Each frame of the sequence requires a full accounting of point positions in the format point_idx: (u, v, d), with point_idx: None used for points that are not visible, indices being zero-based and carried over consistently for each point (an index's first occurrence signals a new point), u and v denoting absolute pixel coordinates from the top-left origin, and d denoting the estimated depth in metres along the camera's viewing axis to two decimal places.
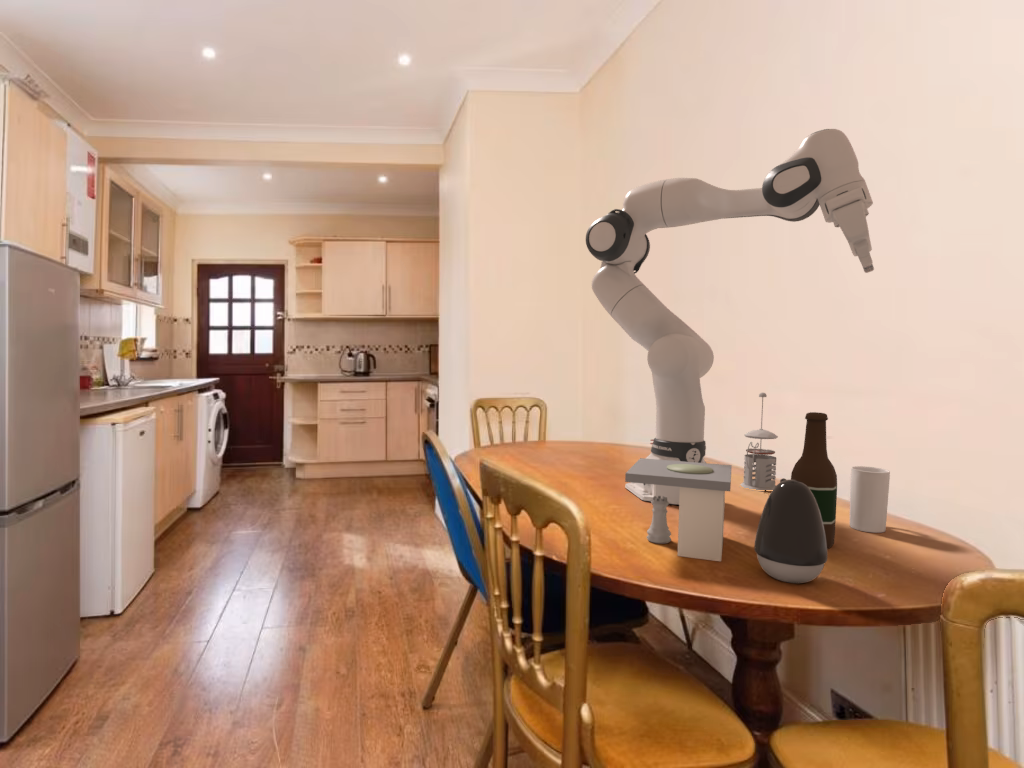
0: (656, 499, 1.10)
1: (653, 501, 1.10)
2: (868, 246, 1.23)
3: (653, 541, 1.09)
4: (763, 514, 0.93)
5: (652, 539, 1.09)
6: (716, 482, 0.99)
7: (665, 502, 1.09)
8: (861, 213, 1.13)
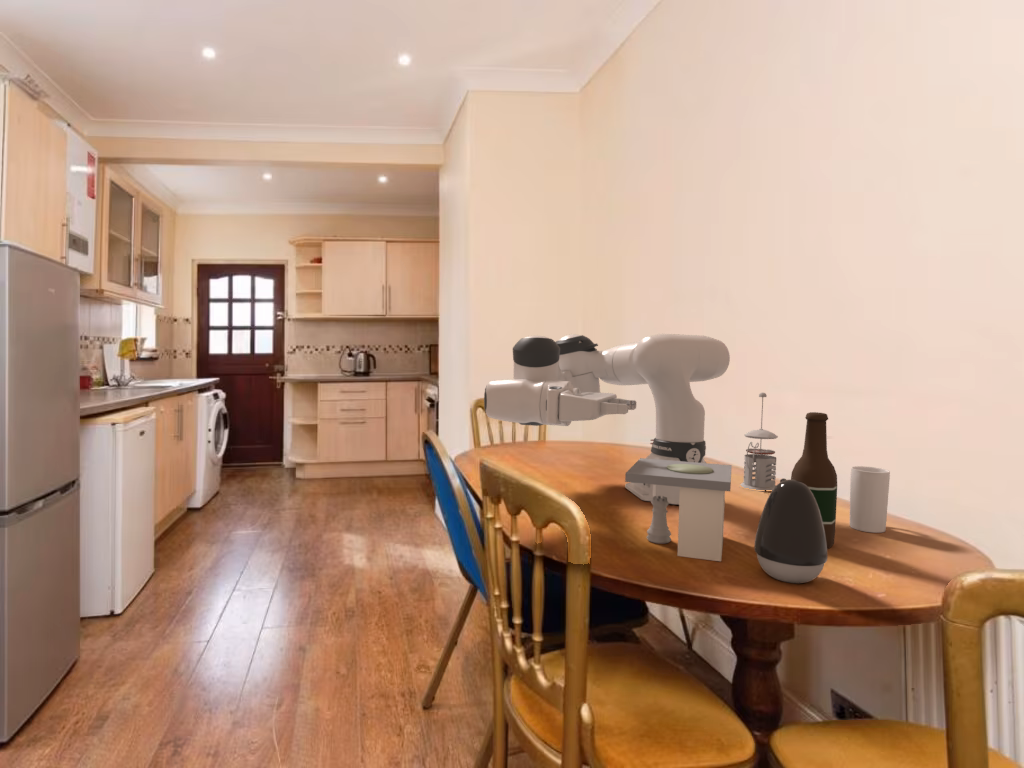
0: (656, 499, 1.10)
1: (653, 501, 1.10)
2: (610, 398, 1.17)
3: (653, 541, 1.09)
4: (763, 514, 0.93)
5: (652, 539, 1.09)
6: (716, 482, 0.99)
7: (665, 502, 1.09)
8: (572, 398, 1.08)
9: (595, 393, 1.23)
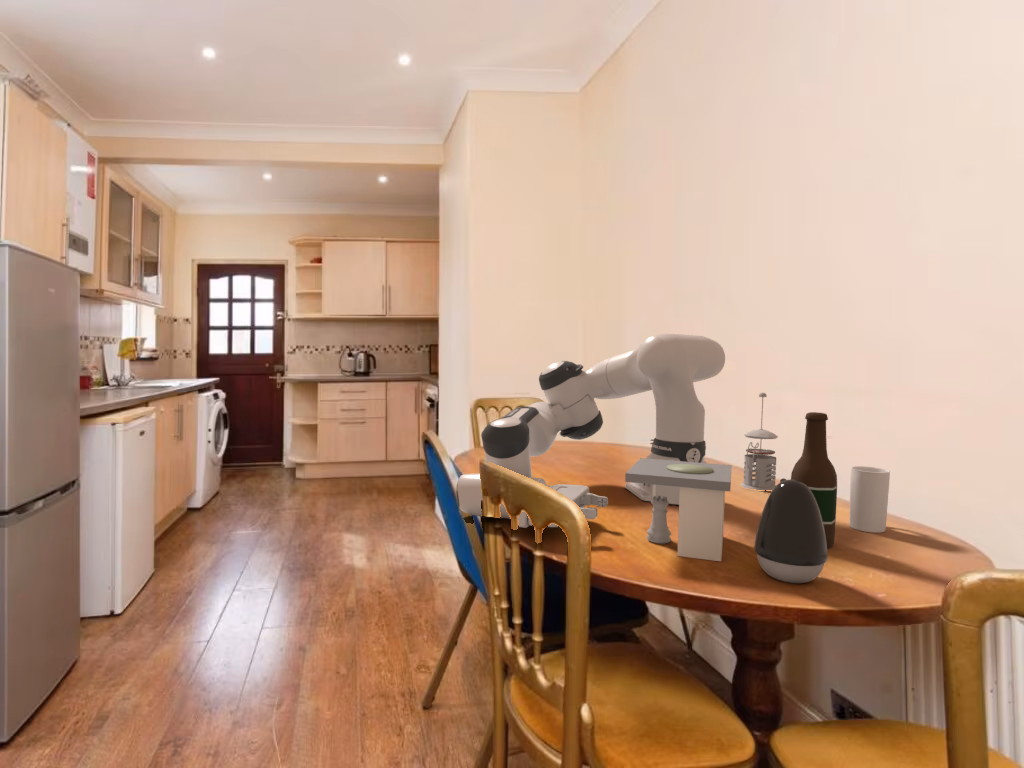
0: (656, 499, 1.10)
1: (653, 501, 1.10)
2: (581, 496, 1.18)
3: (653, 541, 1.09)
4: (763, 514, 0.93)
5: (652, 539, 1.09)
6: (716, 482, 0.99)
7: (665, 502, 1.09)
8: None
9: (568, 486, 1.23)
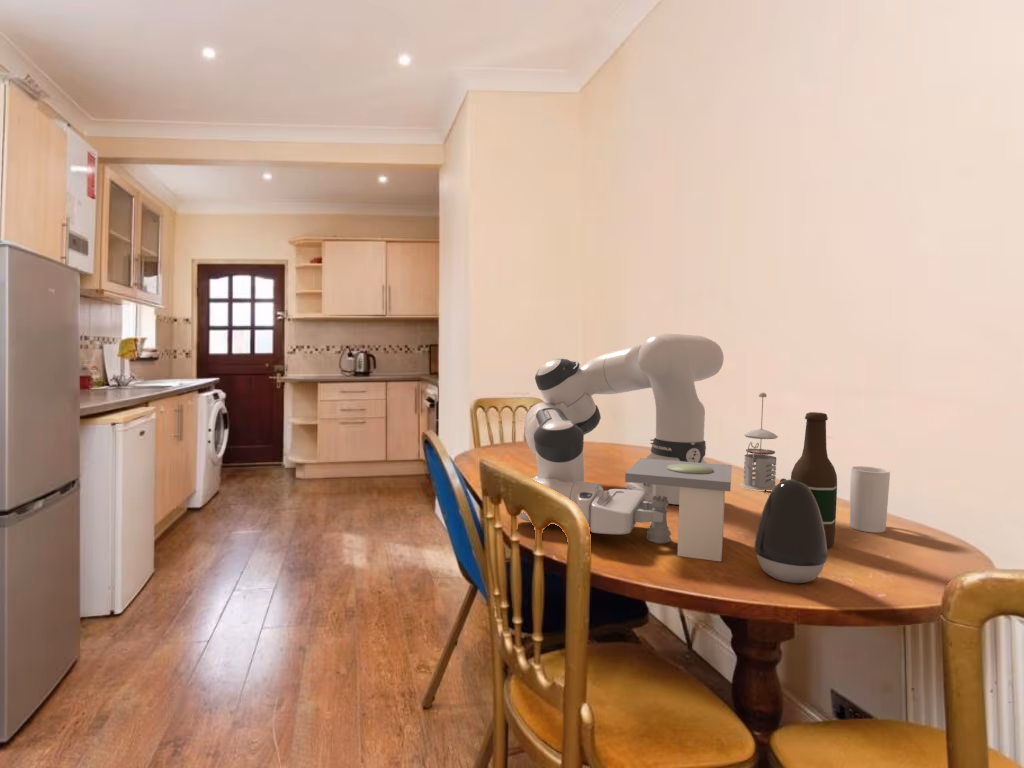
0: (656, 499, 1.10)
1: (653, 501, 1.10)
2: (640, 501, 1.14)
3: (653, 541, 1.09)
4: (763, 514, 0.93)
5: (652, 539, 1.09)
6: (716, 482, 0.99)
7: (665, 502, 1.09)
8: (604, 511, 1.04)
9: (624, 491, 1.20)
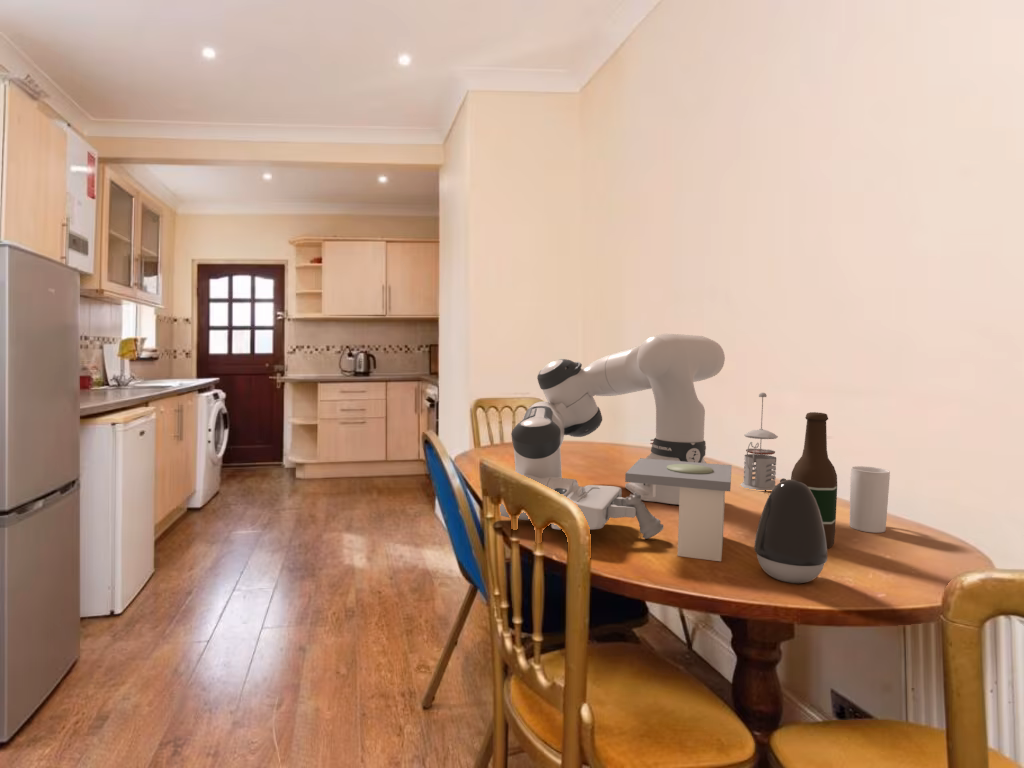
0: (628, 498, 1.11)
1: (627, 502, 1.11)
2: (615, 497, 1.15)
3: (649, 536, 1.09)
4: (763, 514, 0.93)
5: (647, 535, 1.09)
6: (716, 482, 0.99)
7: (636, 496, 1.11)
8: None
9: (600, 487, 1.21)
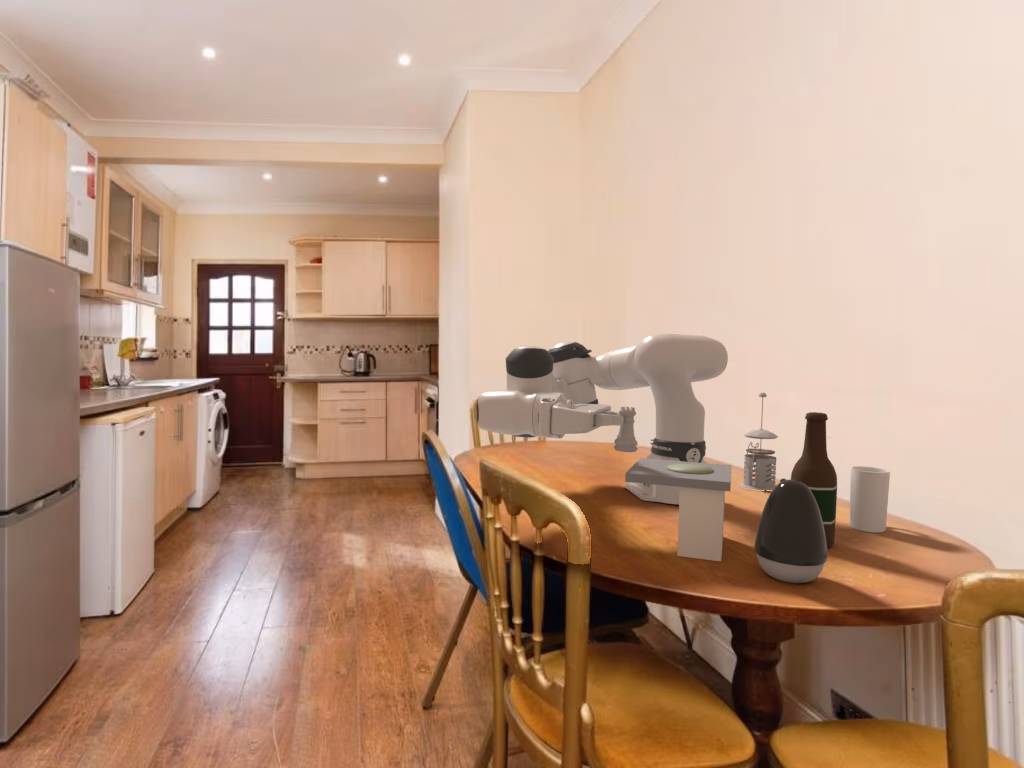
0: (624, 408, 1.11)
1: (621, 410, 1.11)
2: (603, 410, 1.15)
3: (620, 449, 1.10)
4: (763, 514, 0.93)
5: (618, 447, 1.11)
6: (716, 482, 0.99)
7: (632, 411, 1.10)
8: (564, 411, 1.06)
9: None
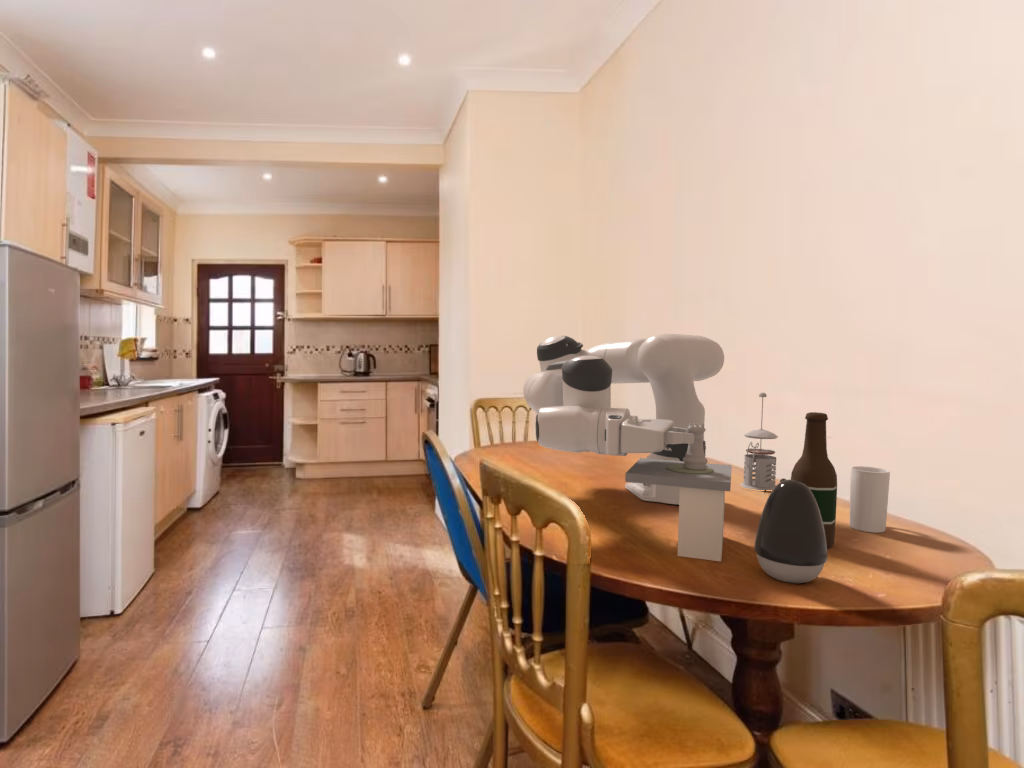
0: (693, 425, 1.07)
1: (689, 427, 1.07)
2: (670, 426, 1.11)
3: (690, 468, 1.06)
4: (763, 514, 0.93)
5: (688, 466, 1.06)
6: (716, 482, 0.99)
7: (702, 428, 1.06)
8: (636, 429, 1.02)
9: (652, 420, 1.17)
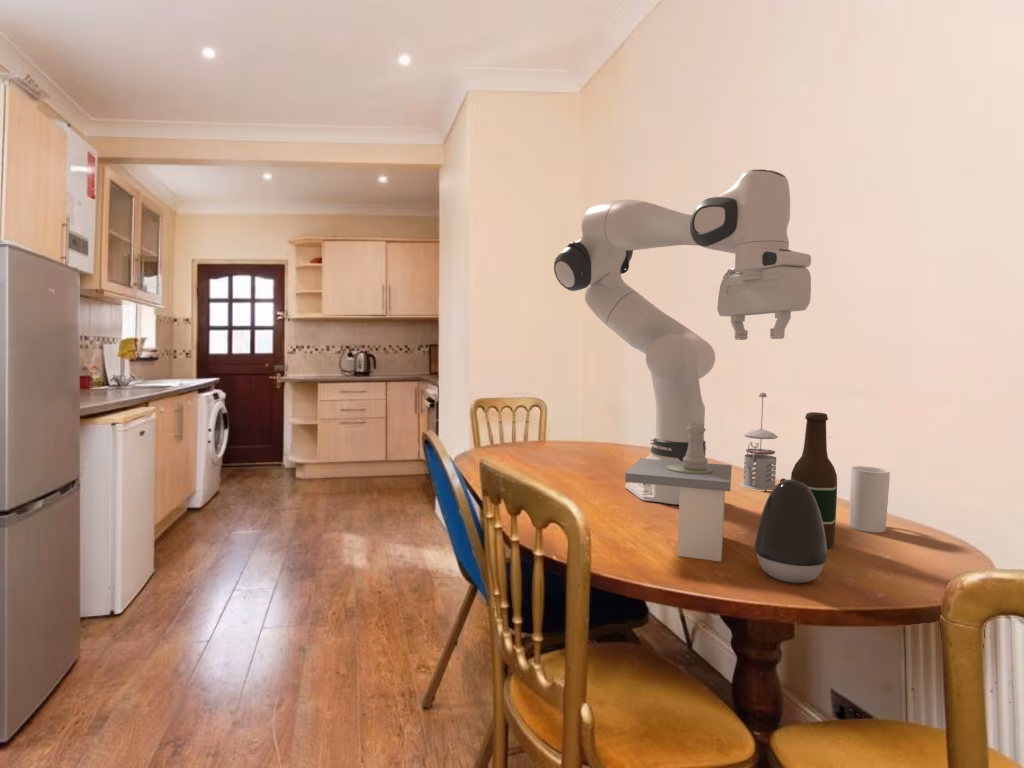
0: (692, 425, 1.07)
1: (689, 427, 1.07)
2: (756, 314, 1.11)
3: (690, 468, 1.06)
4: (763, 514, 0.93)
5: (688, 466, 1.06)
6: (716, 482, 0.99)
7: (702, 428, 1.06)
8: (809, 283, 1.00)
9: None
